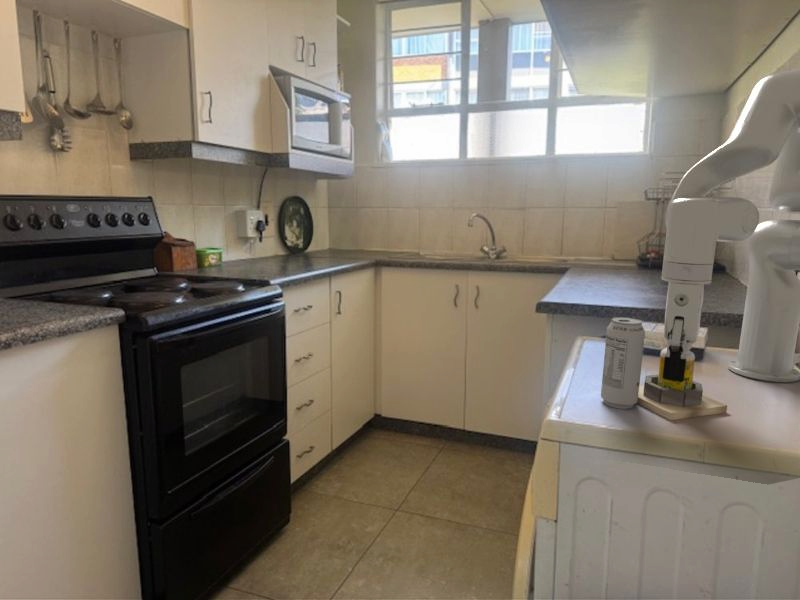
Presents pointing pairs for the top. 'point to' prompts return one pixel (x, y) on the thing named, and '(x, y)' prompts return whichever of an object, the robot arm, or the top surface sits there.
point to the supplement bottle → (688, 370)
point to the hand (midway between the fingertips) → (674, 374)
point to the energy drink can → (622, 362)
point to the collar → (677, 400)
